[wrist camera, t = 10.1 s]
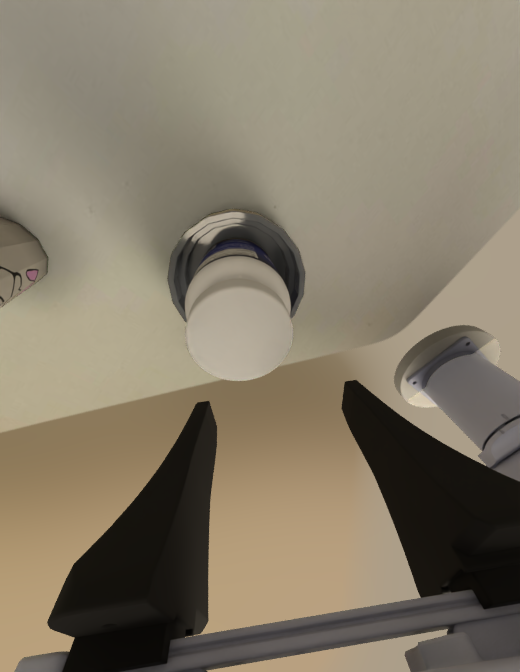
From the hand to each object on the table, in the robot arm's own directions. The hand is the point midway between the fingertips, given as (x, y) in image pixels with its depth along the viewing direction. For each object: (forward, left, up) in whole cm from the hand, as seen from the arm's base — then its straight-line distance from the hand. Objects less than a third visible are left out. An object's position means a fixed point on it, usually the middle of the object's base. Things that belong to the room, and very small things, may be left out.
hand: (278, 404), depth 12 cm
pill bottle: (+4, -2, -10) cm, 11 cm away
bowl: (+4, -2, -10) cm, 11 cm away
